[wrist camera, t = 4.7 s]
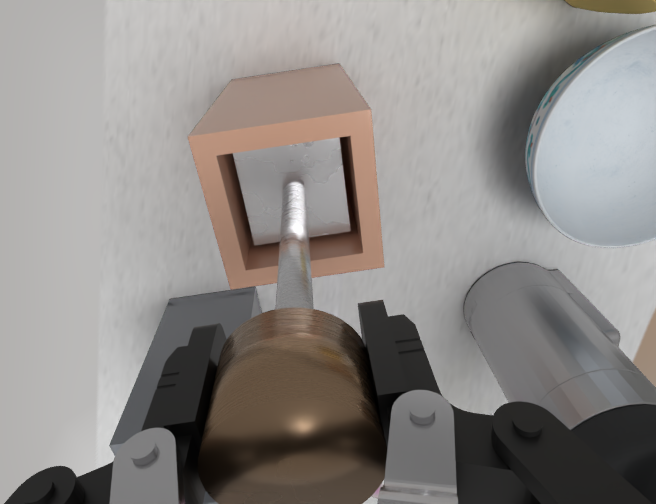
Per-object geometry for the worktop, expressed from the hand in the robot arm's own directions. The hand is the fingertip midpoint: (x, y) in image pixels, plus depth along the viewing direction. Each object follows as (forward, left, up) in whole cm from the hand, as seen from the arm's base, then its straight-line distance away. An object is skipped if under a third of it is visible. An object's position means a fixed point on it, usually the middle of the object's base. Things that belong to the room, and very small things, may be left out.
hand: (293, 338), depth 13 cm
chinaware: (-23, +3, -26) cm, 35 cm away
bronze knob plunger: (0, 0, -12) cm, 12 cm away
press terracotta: (0, 0, -26) cm, 26 cm away
